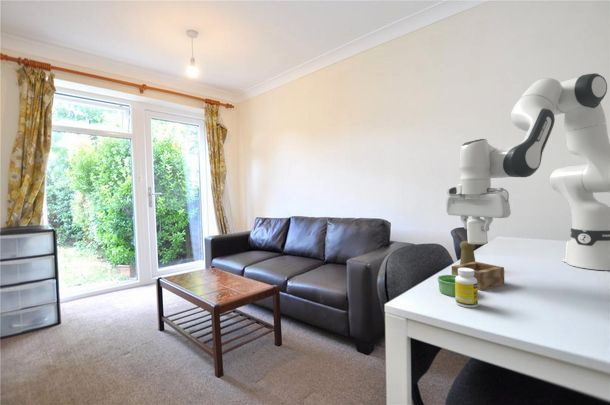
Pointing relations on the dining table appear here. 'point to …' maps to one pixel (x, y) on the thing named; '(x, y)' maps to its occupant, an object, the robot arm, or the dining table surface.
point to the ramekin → (447, 284)
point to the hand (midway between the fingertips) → (476, 230)
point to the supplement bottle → (466, 288)
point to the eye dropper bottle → (476, 231)
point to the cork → (467, 252)
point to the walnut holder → (483, 274)
